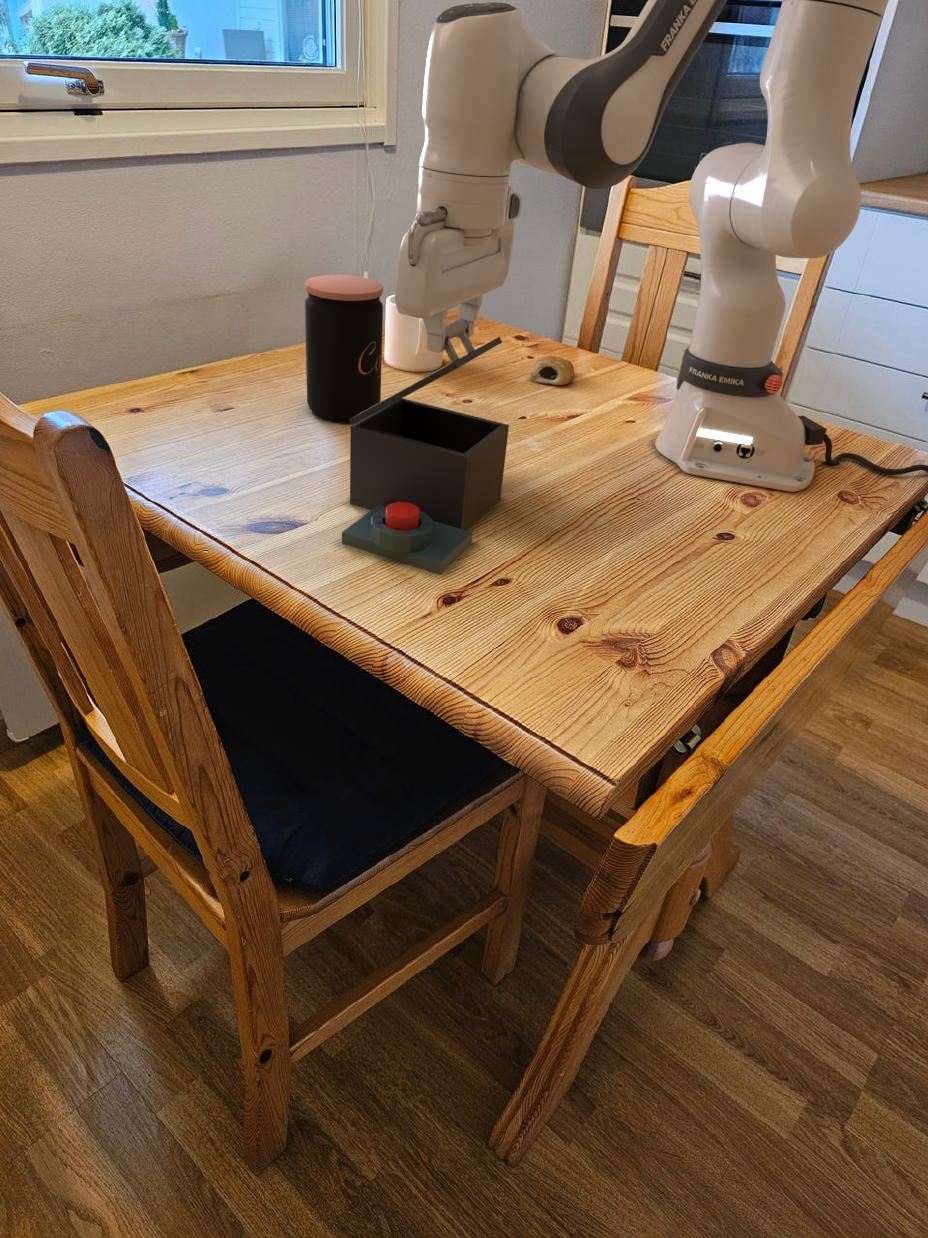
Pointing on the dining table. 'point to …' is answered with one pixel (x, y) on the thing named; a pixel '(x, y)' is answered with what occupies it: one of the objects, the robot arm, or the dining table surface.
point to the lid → (453, 330)
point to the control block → (408, 540)
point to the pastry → (552, 371)
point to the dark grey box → (428, 461)
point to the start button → (402, 516)
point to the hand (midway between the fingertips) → (450, 343)
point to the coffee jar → (343, 345)
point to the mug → (407, 342)
